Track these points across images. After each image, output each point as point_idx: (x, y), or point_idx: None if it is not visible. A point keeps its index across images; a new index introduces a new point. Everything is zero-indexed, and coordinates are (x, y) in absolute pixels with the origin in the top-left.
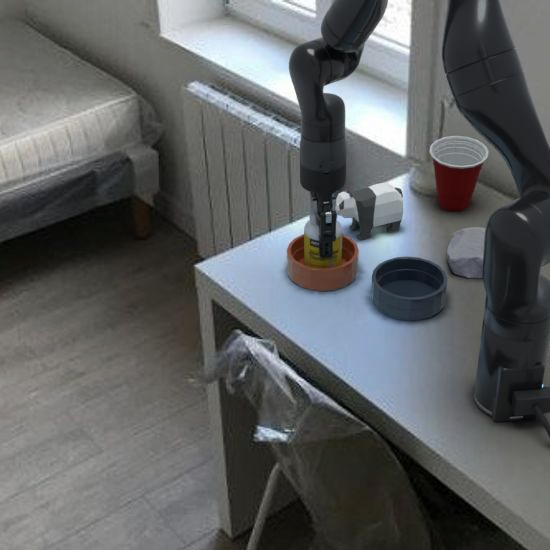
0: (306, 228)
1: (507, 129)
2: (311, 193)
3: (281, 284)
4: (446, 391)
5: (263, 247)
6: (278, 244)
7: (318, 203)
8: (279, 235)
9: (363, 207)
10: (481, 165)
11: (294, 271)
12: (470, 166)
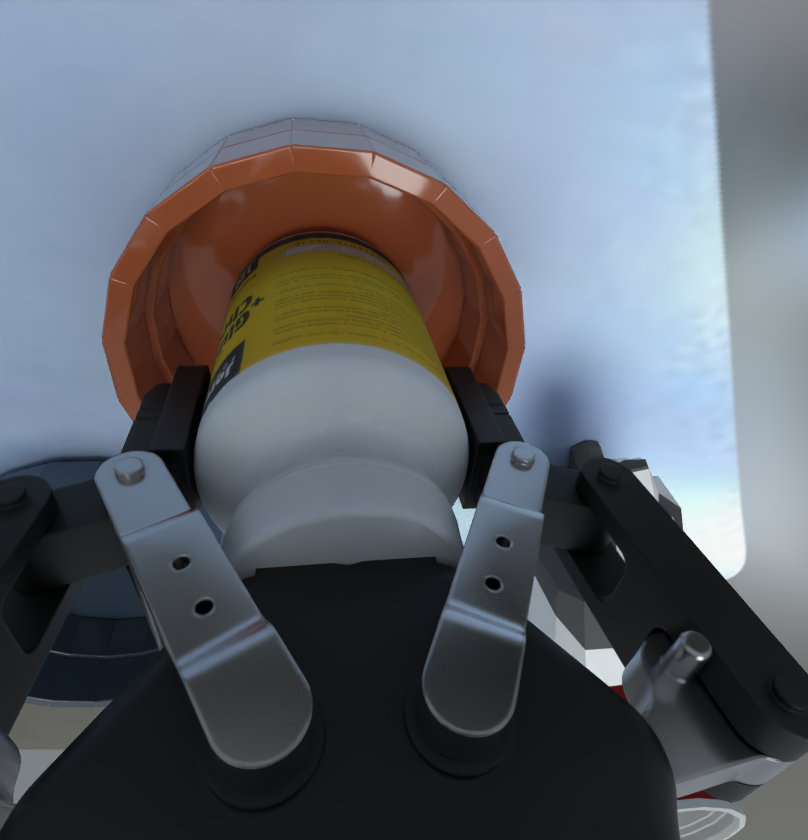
0: (314, 382)
1: None
2: (440, 727)
3: (219, 49)
4: None
5: (640, 11)
6: (625, 122)
7: (141, 796)
8: (699, 146)
9: (560, 585)
10: None
11: (206, 159)
12: None
